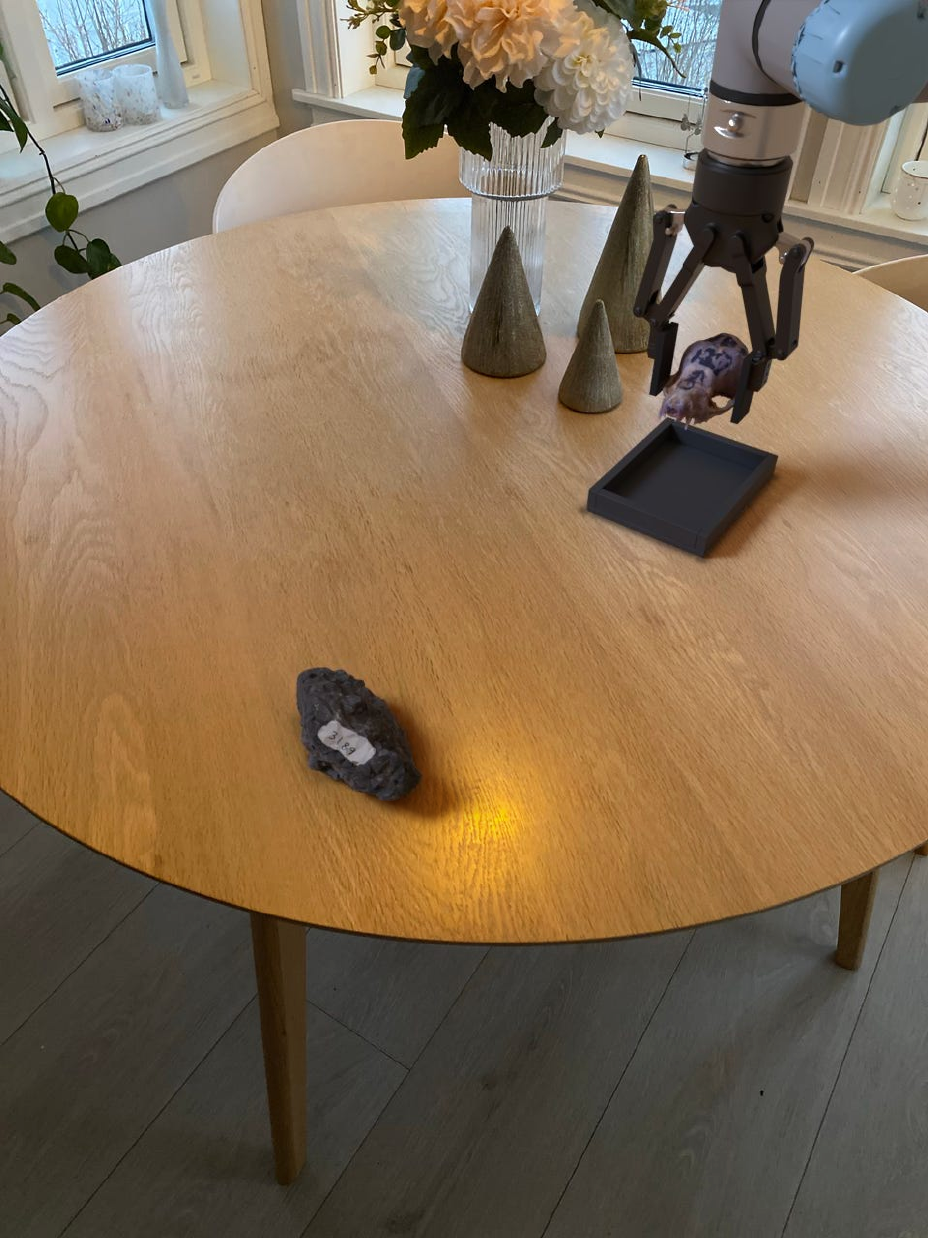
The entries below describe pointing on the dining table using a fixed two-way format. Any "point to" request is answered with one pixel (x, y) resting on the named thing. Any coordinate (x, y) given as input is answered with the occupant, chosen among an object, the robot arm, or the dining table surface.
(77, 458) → the dining table surface
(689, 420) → the skull
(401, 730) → the rock
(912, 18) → the robot arm
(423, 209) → the dining table surface
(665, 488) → the tray
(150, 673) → the dining table surface
